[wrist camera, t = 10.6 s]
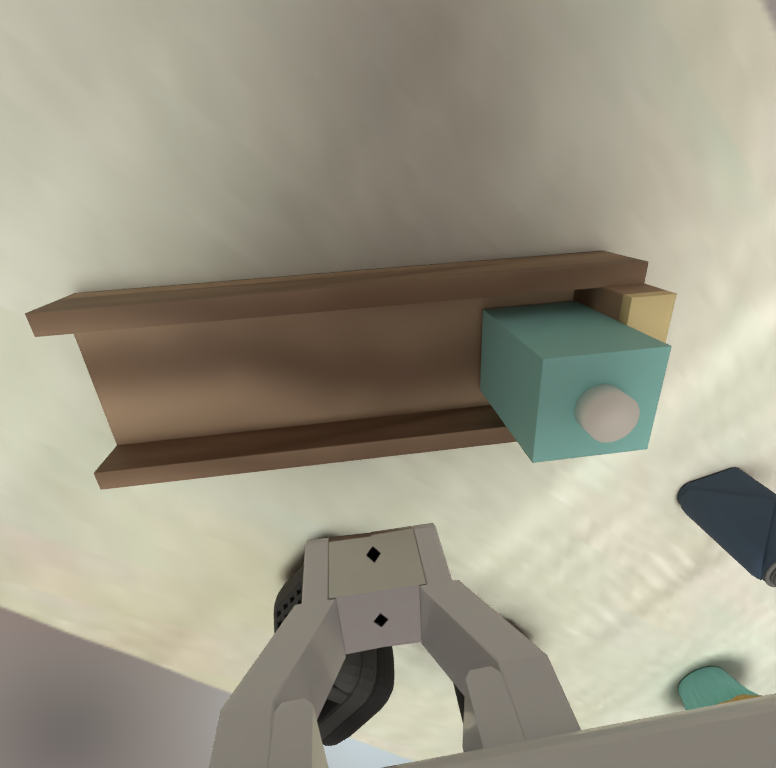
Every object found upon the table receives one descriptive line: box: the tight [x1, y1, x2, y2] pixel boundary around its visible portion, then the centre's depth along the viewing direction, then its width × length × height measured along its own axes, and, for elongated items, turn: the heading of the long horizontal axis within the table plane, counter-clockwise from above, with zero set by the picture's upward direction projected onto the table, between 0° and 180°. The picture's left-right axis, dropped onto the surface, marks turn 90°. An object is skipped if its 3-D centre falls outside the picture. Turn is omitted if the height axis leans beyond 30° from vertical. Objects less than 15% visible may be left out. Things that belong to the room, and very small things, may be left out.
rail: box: [25, 251, 676, 489], centre depth 21 cm, size 9×27×6 cm, turn 93°
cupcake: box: [678, 667, 762, 710], centre depth 37 cm, size 9×8×12 cm
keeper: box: [480, 301, 671, 463], centre depth 20 cm, size 5×5×8 cm
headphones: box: [274, 563, 516, 746], centre depth 24 cm, size 22×6×20 cm, turn 51°
